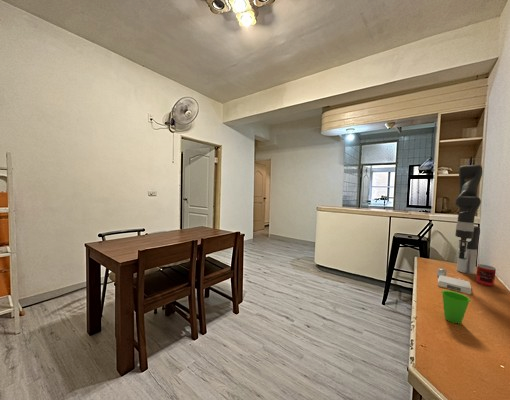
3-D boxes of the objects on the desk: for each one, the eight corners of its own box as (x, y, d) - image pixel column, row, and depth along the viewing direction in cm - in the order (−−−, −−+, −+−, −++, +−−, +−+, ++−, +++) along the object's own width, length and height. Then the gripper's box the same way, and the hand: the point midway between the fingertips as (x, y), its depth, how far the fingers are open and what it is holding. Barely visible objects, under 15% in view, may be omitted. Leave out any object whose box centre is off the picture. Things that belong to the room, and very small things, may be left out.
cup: (460, 317, 95) (462, 292, 94) (473, 329, 86) (476, 302, 85) (435, 312, 97) (437, 288, 97) (445, 324, 89) (447, 298, 88)
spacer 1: (437, 275, 145) (437, 267, 145) (445, 277, 142) (446, 269, 142) (436, 276, 142) (437, 269, 141) (445, 278, 139) (446, 271, 138)
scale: (438, 279, 138) (439, 274, 137) (469, 286, 128) (470, 281, 128) (437, 285, 127) (437, 280, 127) (471, 294, 117) (471, 289, 117)
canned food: (485, 281, 137) (487, 264, 137) (498, 287, 129) (500, 269, 129) (472, 280, 138) (473, 263, 137) (483, 286, 130) (485, 268, 129)
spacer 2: (456, 256, 133) (457, 248, 133) (466, 258, 130) (467, 250, 130) (456, 258, 130) (457, 249, 130) (466, 260, 127) (467, 251, 127)
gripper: (456, 227, 137) (453, 254, 138) (455, 229, 127) (452, 258, 128) (473, 229, 132) (469, 257, 133) (474, 231, 122) (470, 261, 122)
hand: (461, 257), depth 130 cm, fingers closed on spacer 2, 4 cm apart
